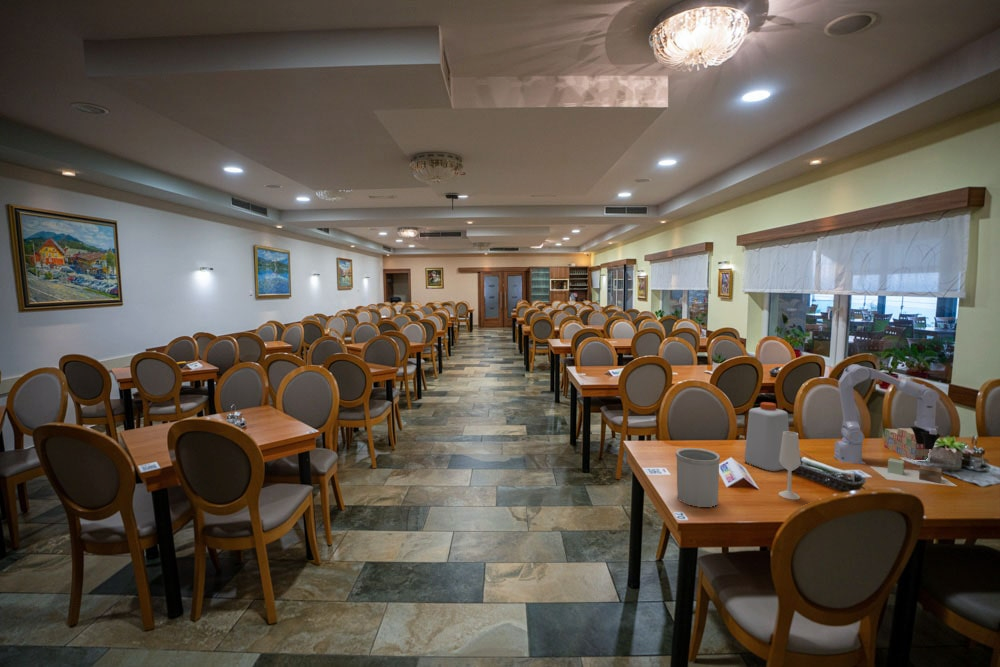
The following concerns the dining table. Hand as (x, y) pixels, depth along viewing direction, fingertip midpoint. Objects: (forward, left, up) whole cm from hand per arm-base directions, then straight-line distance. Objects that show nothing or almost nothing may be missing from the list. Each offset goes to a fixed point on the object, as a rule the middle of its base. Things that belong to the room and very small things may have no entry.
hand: (924, 446), depth 185 cm
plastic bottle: (-62, -14, -10) cm, 64 cm away
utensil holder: (-95, -61, -10) cm, 113 cm away
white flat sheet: (-10, -12, -10) cm, 19 cm away
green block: (-14, -10, -9) cm, 19 cm away
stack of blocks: (+3, +20, -10) cm, 23 cm away
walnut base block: (-5, -15, -9) cm, 18 cm away
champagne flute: (-62, -47, -10) cm, 78 cm away
